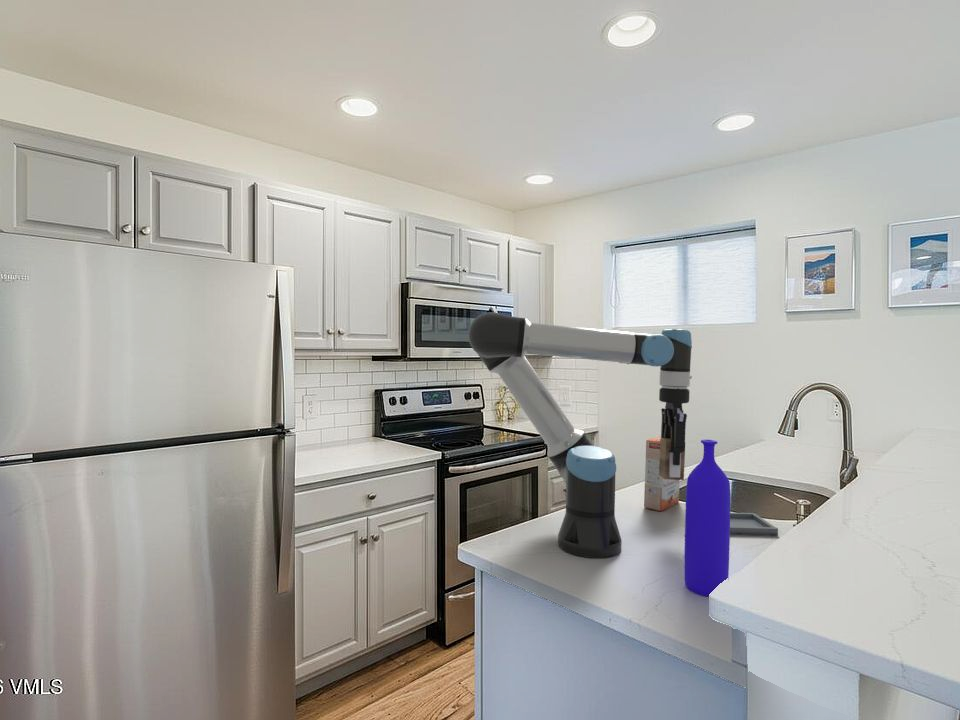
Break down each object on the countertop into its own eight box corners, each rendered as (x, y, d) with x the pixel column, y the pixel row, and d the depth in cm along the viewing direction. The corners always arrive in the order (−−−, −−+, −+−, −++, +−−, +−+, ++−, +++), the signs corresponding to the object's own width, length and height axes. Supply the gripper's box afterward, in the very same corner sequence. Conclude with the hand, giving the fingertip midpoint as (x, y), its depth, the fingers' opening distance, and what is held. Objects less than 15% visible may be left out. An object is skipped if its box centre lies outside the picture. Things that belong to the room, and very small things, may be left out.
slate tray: (726, 534, 138) (727, 527, 138) (707, 518, 151) (708, 511, 151) (777, 535, 137) (778, 528, 137) (754, 519, 150) (754, 513, 150)
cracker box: (662, 512, 156) (664, 442, 155) (643, 508, 160) (644, 439, 159) (680, 502, 166) (682, 436, 166) (662, 498, 170) (663, 434, 170)
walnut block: (664, 479, 138) (665, 441, 138) (658, 474, 143) (660, 438, 143) (683, 480, 138) (685, 442, 138) (677, 475, 143) (679, 438, 143)
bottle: (682, 577, 112) (685, 436, 111) (724, 582, 109) (728, 438, 108) (685, 594, 104) (688, 442, 103) (731, 601, 101) (735, 445, 100)
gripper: (701, 390, 131) (697, 483, 132) (677, 385, 149) (674, 467, 150) (670, 389, 131) (667, 482, 132) (650, 384, 149) (647, 466, 150)
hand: (671, 474), depth 141 cm, fingers closed on walnut block, 5 cm apart
